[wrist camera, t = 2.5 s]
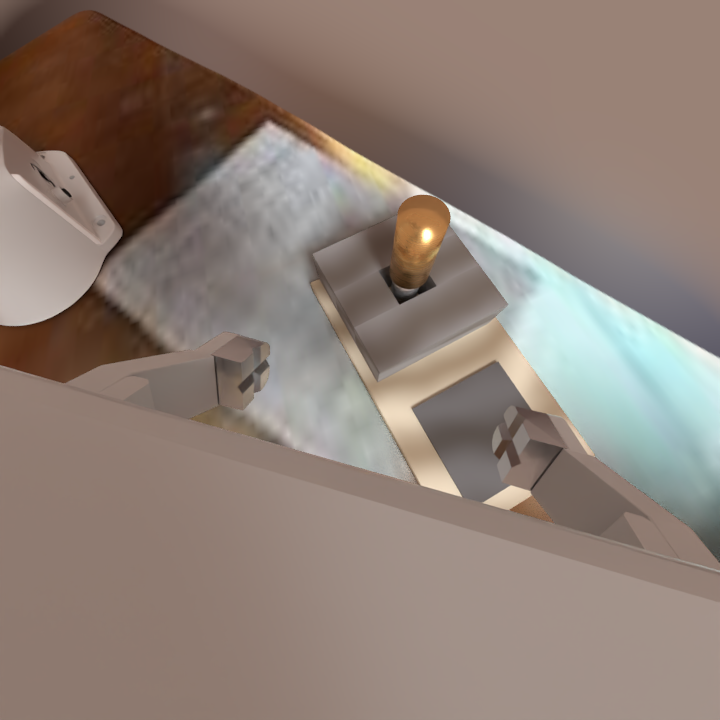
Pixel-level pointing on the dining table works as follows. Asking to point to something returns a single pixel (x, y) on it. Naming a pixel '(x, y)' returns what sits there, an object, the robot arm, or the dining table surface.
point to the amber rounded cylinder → (416, 243)
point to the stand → (433, 360)
